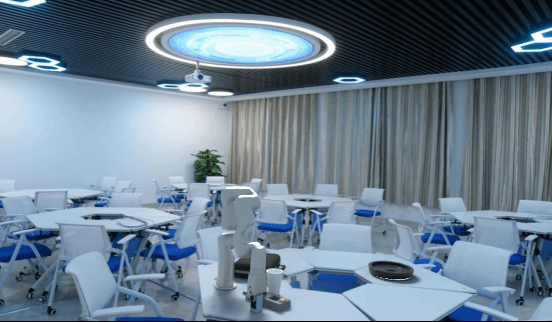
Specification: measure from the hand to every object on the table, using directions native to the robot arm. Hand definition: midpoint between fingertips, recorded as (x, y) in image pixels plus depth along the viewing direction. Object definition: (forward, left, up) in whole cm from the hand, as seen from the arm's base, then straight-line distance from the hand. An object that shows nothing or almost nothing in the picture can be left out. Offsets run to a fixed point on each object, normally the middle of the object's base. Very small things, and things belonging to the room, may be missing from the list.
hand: (256, 306), depth 196 cm
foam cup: (-9, +24, -2) cm, 26 cm away
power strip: (-6, +12, -2) cm, 14 cm away
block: (0, 0, -2) cm, 2 cm away
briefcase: (-40, +48, -2) cm, 63 cm away
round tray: (+21, +112, -2) cm, 114 cm away
